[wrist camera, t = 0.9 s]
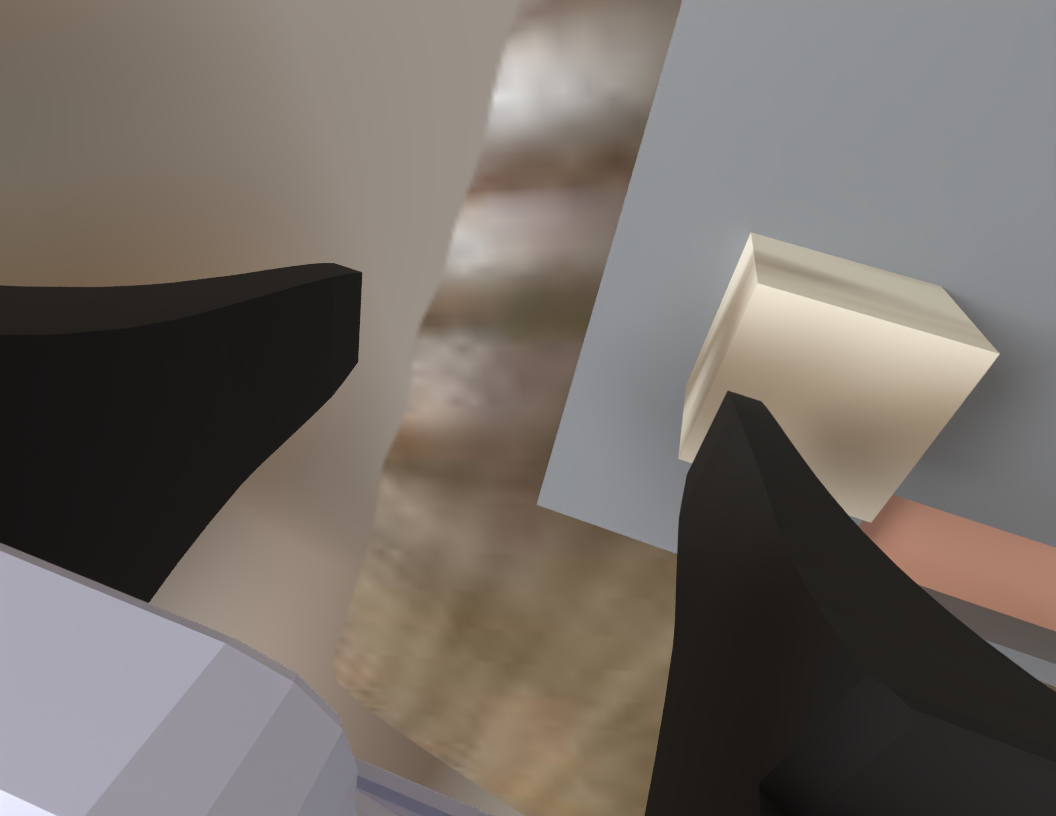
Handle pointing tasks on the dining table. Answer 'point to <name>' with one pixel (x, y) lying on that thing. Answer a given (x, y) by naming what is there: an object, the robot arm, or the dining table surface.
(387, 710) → the dining table surface
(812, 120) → the board
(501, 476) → the dining table surface
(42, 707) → the robot arm
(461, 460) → the dining table surface
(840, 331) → the cream block
